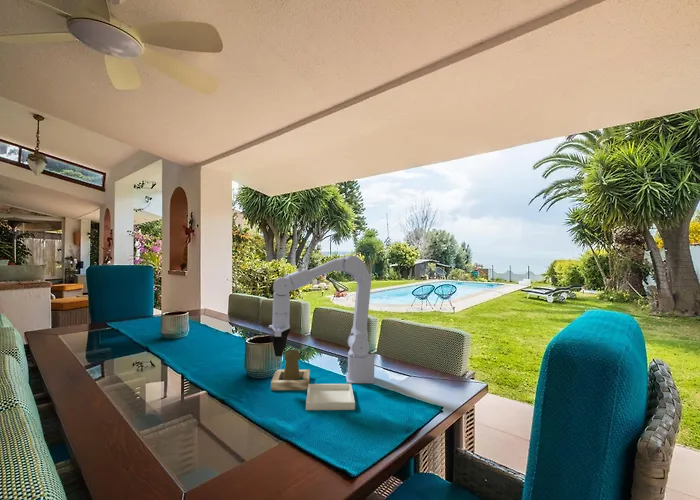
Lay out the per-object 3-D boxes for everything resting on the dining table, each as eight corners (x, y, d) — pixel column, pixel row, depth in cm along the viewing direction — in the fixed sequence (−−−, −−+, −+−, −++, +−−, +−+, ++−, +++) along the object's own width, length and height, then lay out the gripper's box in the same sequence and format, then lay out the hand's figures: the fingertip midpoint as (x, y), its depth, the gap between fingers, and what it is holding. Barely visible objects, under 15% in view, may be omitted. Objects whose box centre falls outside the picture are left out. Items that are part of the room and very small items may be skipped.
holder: (309, 376, 121) (310, 369, 121) (308, 390, 109) (308, 382, 109) (276, 376, 120) (276, 369, 120) (270, 390, 108) (270, 382, 108)
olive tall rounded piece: (296, 387, 111) (297, 354, 111) (279, 385, 113) (280, 352, 113) (302, 380, 117) (303, 349, 117) (286, 378, 118) (287, 347, 119)
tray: (351, 389, 110) (351, 383, 110) (354, 409, 96) (355, 402, 96) (308, 390, 109) (308, 383, 109) (305, 410, 95) (305, 403, 95)
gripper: (272, 309, 122) (271, 346, 122) (265, 316, 107) (264, 359, 107) (292, 309, 122) (291, 346, 122) (287, 316, 108) (286, 359, 108)
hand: (280, 352), depth 115 cm, fingers open, 7 cm apart
